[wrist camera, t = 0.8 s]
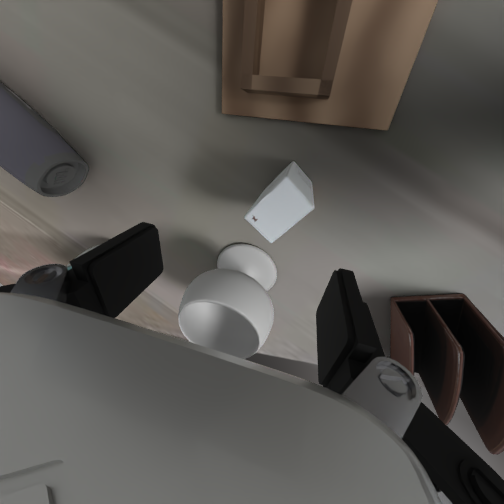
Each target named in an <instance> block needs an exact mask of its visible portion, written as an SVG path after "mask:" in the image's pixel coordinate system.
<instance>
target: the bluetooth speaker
mask: <svg viewBox="0 0 504 504" xmlns="http://www.w3.org/2000/svg"><path fill="white" fill-rule="evenodd" d="M0 166H1V167H2V168H3V169H5V170H6V171H7V172H9V173H10V174H11V175H13V176H14V177H15V178H17V179H18V180H19V181H21V182H22V183H24V184H25V185H26V186H28V187H29V188H31V189H33V190H34V191H36V192H37V193H39V194H40V195H43V196H47V197H56V196H63V195H66V194H68V193H70V192H72V191H74V190H76V189H77V188H78V187H79V186H81V185H82V184H83V182H84V181H85V179H86V176H87V174H88V170H89V167H88V165H87V164H86V163H85V162H84V160H83V159H82V158H81V157H80V156H79V155H78V154H77V153H76V152H75V151H74V150H73V149H72V148H71V147H70V146H69V145H68V144H67V143H66V142H65V141H64V139H63V138H62V137H61V136H60V134H59V133H58V132H57V131H56V130H55V129H54V128H53V127H52V126H51V125H50V124H49V123H48V122H47V121H45V120H44V119H43V118H42V117H41V116H40V115H39V114H38V113H36V112H35V111H34V110H33V109H32V108H31V107H30V106H29V105H28V104H26V103H25V102H24V101H23V100H22V99H20V98H19V97H18V96H17V95H16V94H15V93H13V92H12V91H11V90H10V89H8V88H7V87H5V86H4V85H3V84H2V83H1V82H0Z"/></svg>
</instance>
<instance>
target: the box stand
mask: <svg viewBox="0 0 504 504" xmlns="http://www.w3.org/2000/svg"><path fill="white" fill-rule="evenodd" d="M437 2H438V0H223V39H222V114H230V115H240V116H249V117H259V118H269V119H279V120H288V121H298V122H308V123H318V124H328V125H337V126H347V127H357V128H367V129H376V130H388V128H389V126H390V123H391V121H392V118H393V116H394V113H395V110H396V108H397V105H398V103H399V100H400V98H401V95H402V92H403V90H404V87H405V85H406V82H407V80H408V77H409V74H410V72H411V69H412V67H413V64H414V62H415V59H416V56H417V54H418V51H419V49H420V46H421V43H422V41H423V38H424V36H425V33H426V31H427V28H428V25H429V23H430V20H431V18H432V15H433V13H434V10H435V7H436V5H437Z"/></svg>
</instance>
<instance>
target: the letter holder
mask: <svg viewBox="0 0 504 504" xmlns="http://www.w3.org/2000/svg"><path fill="white" fill-rule="evenodd" d="M390 335H391V339H390V343H391V344H390V345H391V348H390V350H391V352H390V355H391V359H393V360H395V361H397V362H399V363H400V364H401V365H403V366H404V367H405V368H406V369H408V370H409V371H410V372H411V373H412V375H413V376H414V372H416V373H419V375H420V377H421V379H422V381H423V383H424V385H425V387H426V390H427V392H428V394H429V396H430V398H431V400H432V403H433V405H434V407H435V410H436V412H437V415H438V417H439V419H440V420H441V421H442V422H443V423H444V424H445V425H447V424H448V423H449V422H450V421H451V419H452V417H453V415H454V413H455V410H456V407H457V405H458V401H459V398H461V400H462V402H463V404H464V406H465V408H466V410H467V412H468V414H469V416H470V418H471V420H472V422H473V423H474V425H475V427H476V429H477V431H478V433H479V435H480V437H481V439H482V440H483V442H484V444H485V446H486V448H487V449H488V451H489V452H490V453H492V454H500V453H501V452H503V451H504V337H503V336H502V335H501V334H500V333H499V332H498V331H497V330H496V329H495V328H494V327H493V325H492V324H491V323H490V322H489V321H488V320H487V319H486V318H485V316H484V315H483V314H482V313H481V312H480V311H479V310H478V309H477V308H476V307H475V306H474V304H473V303H472V302H471V301H470V300H469V299H468V297H467V296H466V295H464V294H443V295H424V296H406V297H392V298H391V334H390Z"/></svg>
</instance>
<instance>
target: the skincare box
mask: <svg viewBox="0 0 504 504" xmlns="http://www.w3.org/2000/svg"><path fill="white" fill-rule="evenodd" d="M314 208H315V207H314V197H313V186H312V181H311V180H310V179H309V178H308V177H307V176H306V174H305V173H304V172H303V171H302V170H301V168H300V167H299V166H298V165H297V164H296V163H295V162H294V161H292V162H291V163H290V164H289V165H288V166H287V167H286V168H285V169H284V170H283V171H282V172H281V173H280V174H279V175H278V176H277V177H276V178H275V179H274V180H273V181H272V182H271V183H270V184H269V185H268V187H267V188H266V189H265V190H264V191H263V192H262V193H261V195H260V196H259V198H258V199H257V200H256V202H255V203H254V204H253V205H252V207H251V208H250V209H249V211H248V212H247V213H246V215H245V216H244V218H245V219H246V220H247V221H248V222H249V223H250V224H251V225H252V226H253V227H254V228H255V229H256V230H257V231H258V232H259V233H261V234H262V235H263V236H264V237H265V238H266V239H267V240H268V241H269V242H270V243H273V242H274V241H275V240H276V239H278V238H279V237H280V236H281V235H283V234H284V233H285V232H286V231H288V230H289V229H290V228H291V227H292V226H294V225H295V224H296V223H297V222H298V221H300V220H301V219H302V218H303V217H305V216H306V215H307V214H308V213H309V212H311V211H312V210H313V209H314Z"/></svg>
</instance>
